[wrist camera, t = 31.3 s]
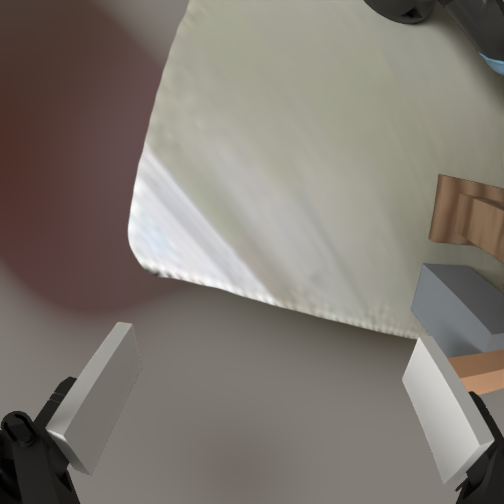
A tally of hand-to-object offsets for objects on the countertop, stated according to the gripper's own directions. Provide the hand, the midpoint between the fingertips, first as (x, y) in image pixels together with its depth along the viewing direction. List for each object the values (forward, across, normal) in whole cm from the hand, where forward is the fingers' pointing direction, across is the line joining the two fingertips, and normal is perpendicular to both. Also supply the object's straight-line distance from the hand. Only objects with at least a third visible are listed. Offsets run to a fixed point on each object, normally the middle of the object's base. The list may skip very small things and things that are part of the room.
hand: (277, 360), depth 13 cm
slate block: (+39, +36, -15) cm, 55 cm away
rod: (+15, +35, -15) cm, 41 cm away
